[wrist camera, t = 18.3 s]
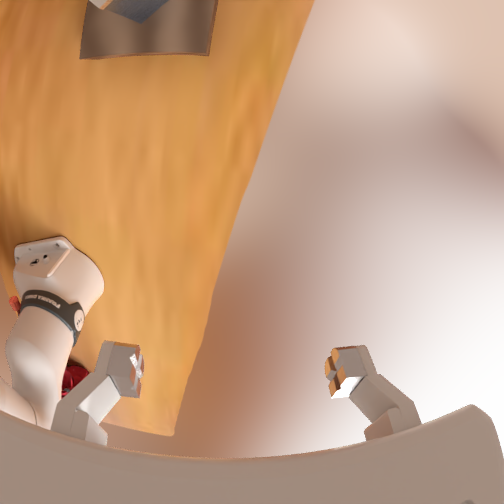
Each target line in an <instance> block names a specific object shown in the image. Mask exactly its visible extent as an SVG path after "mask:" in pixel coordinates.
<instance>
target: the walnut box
mask: <svg viewBox="0 0 504 504" xmlns="http://www.w3.org/2000/svg"><path fill="white" fill-rule="evenodd" d="M217 5H218V0H169V1H167V2H166V3H165V4H164V5H162V6H161V7H160V8H159V9H158V10H156V11H155V12H154V13H153V14H152V15H151V16H149V17H148V18H147V19H146V20H145V21H144V22H143V23H142V24H140V23H138V22H135V21H133V20H131V19H128V18H126V17H124V16H121V15H119V14H116V13H114V12H111V11H108V10H106V9H103V10H102V9H99V8H98V7H97V6H95V5H94V4H93V3H92V2H91V1H89V0H88V4H87V9H86V14H85V20H84V26H83V33H82V41H81V49H80V59H104V58H114V57H125V56H141V55H200V56H209V52H210V45H211V39H212V33H213V27H214V21H215V15H216V10H217Z"/></svg>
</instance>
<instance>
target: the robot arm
mask: <svg viewBox="0 0 504 504" xmlns="http://www.w3.org/2000/svg"><path fill="white" fill-rule="evenodd" d="M57 243H58V244H59V245H58V244H57ZM14 257H15V263H16V266H15V268H14V272H13V279H14V283H15V286H16V289H17V291H18V294H19V296H20V298H21V300H22V301H21V304H20V303H19V300H18V298H17V296H13V297H11V299H10V300H9V303H10V305H11V306H12V308H13V310H14V311H17V312H18V316H19V317H18V319H17V321H16V323H15V325H14V327H13V329H12V331H11V333H10V335H9V337H8V339H7V341H6V346H5V354H6V359H7V362H8V365H9V368H10V371H11V375H12V386H13V387H11V386H10V385H9V384H8V383H7V382H5V381H4V380H3V378H1V377H0V504H504V458H503V454H502V450H501V446H500V442H499V439H498V435H497V432H496V429H495V426H494V424H493V422H492V420H491V418H490V417H489V416H488V415H487V414H486V413H485V412H483V411H482V410H481V409H479V408H478V407H476V406H475V405H467V406H465V407H463V408H461V409H458V410H456V411H454V412H452V413H450V414H447V415H445V416H442V417H440V418H438V419H435V420H432V421H430V422H427V423H424V424H421V421H420V418H419V415H418V413H417V410H416V407H415V405H414V402H413V401H412V400H411V399H409V398H408V397H407V396H406V395H405V394H403V393H402V392H401V391H400V390H399V389H397V388H396V387H395V386H394V385H393V384H391V383H390V382H389V381H388V380H387V379H386V378H384V377H383V376H382V375H381V374H377V372H376V369H375V366H374V364H373V362H372V359H371V356H370V354H369V351H368V349H367V347H366V346H365V345H360V346H348V347H338V348H334V349H332V351H331V355H332V356H330V357H328V358H327V360H326V362H325V374H326V377H327V378H328V379H329V380H330V384H329V389H330V393H331V397H332V398H337V397H345V396H349V398H350V399H351V401H352V402H353V403H354V404H355V405H356V406H357V407H358V408H359V409H360V410H361V411H362V413H363V414H364V415H365V416H366V417H367V418H368V419H369V420H370V421H371V422H372V424H371V425H370V426H368V427H367V428H366V429H365V431H364V434H365V437H366V441H365V442H361V443H357V444H352V445H348V446H343V447H338V448H333V449H328V450H321V451H315V452H308V453H301V454H292V455H283V456H271V457H255V458H196V457H181V456H170V455H160V454H152V453H145V452H138V451H132V450H126V449H121V448H116V447H111V446H106V444H107V436H108V435H107V433H106V432H105V431H104V430H103V429H102V428H101V427H100V426H99V425H98V424H99V423H100V422H101V421H102V419H103V418H104V417H105V416H106V415H107V413H108V412H109V411H110V410H111V409H112V407H113V406H114V405H115V404H116V403H117V401H118V400H119V399H120V398H121V396H125V397H134V398H140V391H141V382H140V380H139V379H140V378H141V377H142V376H143V372H144V359H143V356H142V355H141V354H140V350H141V349H140V347H139V345H136V344H127V343H120V342H113V341H106V340H105V341H104V342H103V344H102V346H101V350H100V353H99V357H98V360H97V364H96V367H95V371H94V373H93V372H91V373H90V374H89V375H87V376H86V377H85V378H84V379H83V380H82V381H81V382H80V383H79V384H78V385H77V386H75V387H74V388H73V389H72V390H71V391H70V392H69V393H68V394H67V395H66V396H65V397H63V398H62V399H61V392H62V380H63V375H64V372H65V368H66V365H67V361H68V358H69V355H70V352H71V349H72V347H74V346H75V344H76V342H77V339H78V337H79V335H80V332H81V329H82V326H83V323H84V319H85V316H86V315H87V313H88V311H89V310H90V308H91V307H92V305H93V304H94V303H95V302H96V300H97V299H98V298H99V297H100V296H101V295H102V293H103V290H104V281H103V277H102V275H101V273H100V271H99V269H98V268H97V266H96V265H95V264H94V263H93V262H92V261H91V260H90V259H89V258H88V257H87V256H86V255H84V254H83V253H81V252H80V251H78V250H77V249H75V248H74V247H73V246H72V244H71V243H70V242H69V241H68V240H67V239H66V238H65V237H55V238H50V239H45V240H40V241H35V242H30V243H25V244H20V245H17V246H16V248H15V251H14Z"/></svg>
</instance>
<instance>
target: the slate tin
mask: <svg viewBox="0 0 504 504" xmlns="http://www.w3.org/2000/svg"><path fill="white" fill-rule="evenodd" d="M89 1H91V2H92V3H93V4H94V5H95V6H97V7H98V8H99V9H102V10H103V9H106V10H108V11H111V12H114V13H116V14H119V15H121V16H124V17H126V18H128V19H131V20H133V21H135V22H138V23H140V24H142V23H143V22H144V21H145V20H146V19H147V18H148V17H149V16H151V15H152V14H153V13H154V12H155V11H156V10H158V9H159V8H160V7H161V6H162V5H164V4H165V3H166V2H167V1H169V0H89Z"/></svg>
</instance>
